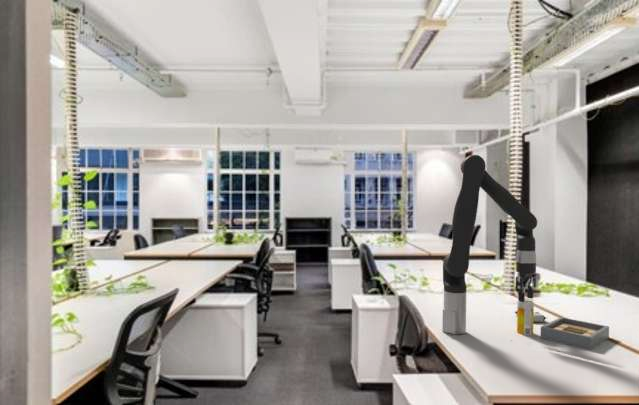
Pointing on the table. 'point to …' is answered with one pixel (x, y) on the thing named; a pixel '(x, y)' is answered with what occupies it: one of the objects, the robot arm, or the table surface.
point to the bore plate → (575, 329)
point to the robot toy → (537, 317)
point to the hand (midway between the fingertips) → (525, 299)
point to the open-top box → (573, 338)
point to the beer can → (525, 317)
